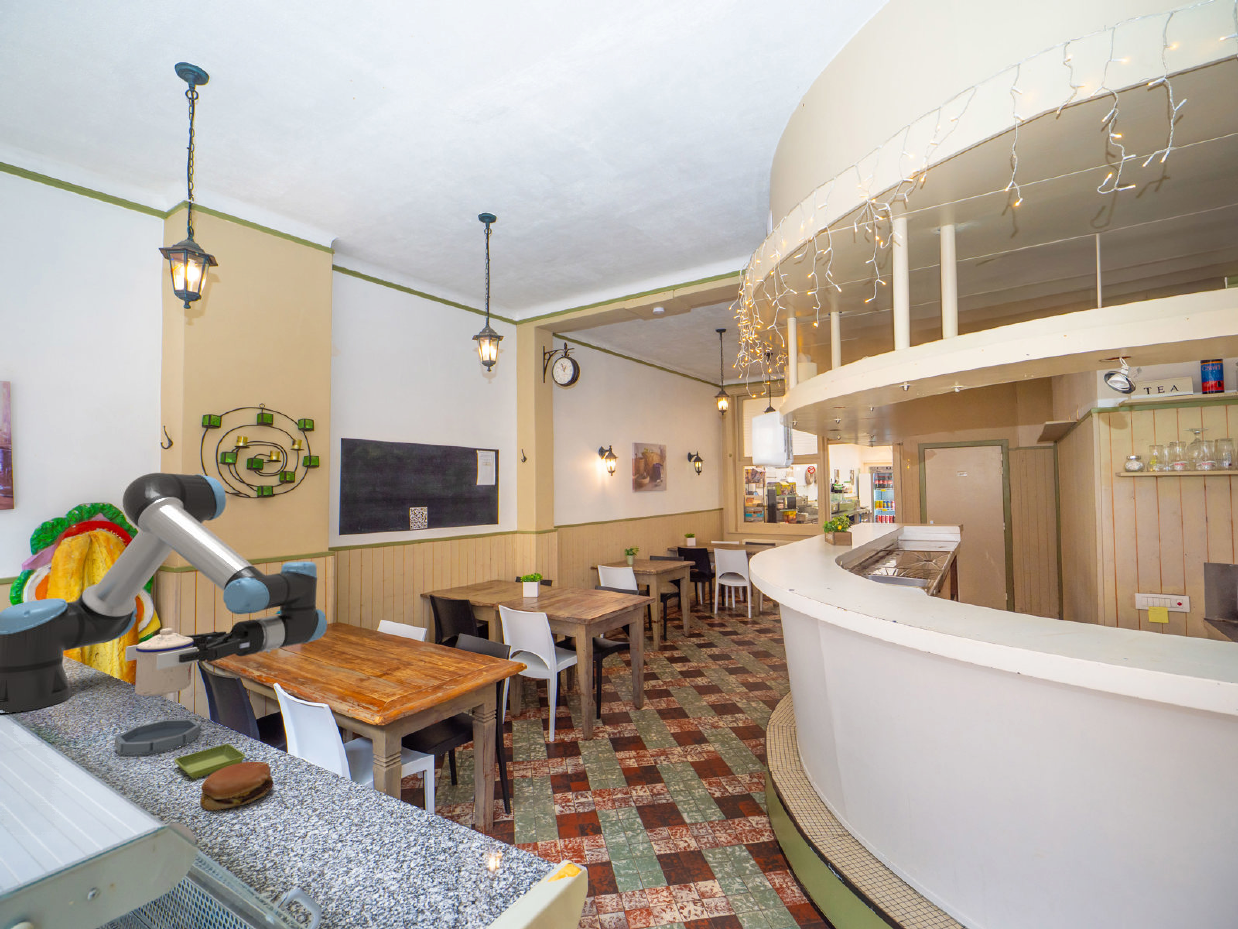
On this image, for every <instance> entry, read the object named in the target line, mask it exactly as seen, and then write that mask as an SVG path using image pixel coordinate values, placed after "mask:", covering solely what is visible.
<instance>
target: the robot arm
mask: <svg viewBox="0 0 1238 929" xmlns="http://www.w3.org/2000/svg"><path fill="white" fill-rule="evenodd" d="M226 505H227V498H226V491H225V488H224V487H223V485H222V484H221V482H220V481H219V480H217V479H216V478H215V477H212V476H209V475H202V474H199V473H197V474H181V473H180V474H179V473H165V472H152V473H148V474H147V473H146V474H144V475H142V476H139V477H137V478H135V479H133V481H132V482H131V483H129V485H128V486H127V487H126V488H125V490H124V492H123V496H122V508H123V511H124V513H125V515H126V516H127V517H128V519H129V521H131V522H132V523H133V524H134V525H135V526H136V527H137V528H138V529H139V530H138V532H137V533H136V535H135V536H134V538H132V540H131V541H130V542H129V543H128V545H127V547H126V548H125V549H124V550H123V551H122V553H121V554H120V555H119V557H118V558H117V559H116V560H115V561H114V563H113V564H112V565H111V567H110V568H109V570H107V572H106V574H104V575H103V578H101V580H100V581H99V583H97V584H92V585H90V586H88V587H86V588H85V589H84V590H83V592H82V593H81V595H80V596H79V597H78V598H77V599H76V600H74V601H69V602H67V601H66V599H64V598H56V597H55V598H44V599H39V600H32V601H26V602H21V603H18V604H14V605H11V606H9V607H8V606H7V608H4V609H3V610H1V611H0V710H3V711H5V712H9V713H8V714H13V713H12V712H16V713H22V712H21V711H23V712H27V711H34V710H39V709H42V708H46V707H51V706H54V705H57V704H60V703H63V702H65V701H66V700H68V699H70V697H71V692H72V691H71V688H72V687H71V684H70V682H69V679H68V676H67V674H66V671H65V669H64V666H63V665H64V664H63V661H64V660H63V658H64V652H65V651H69V650H75V649H79V648H83V647H84V648H85V647H90V646H94V645H98V644H104V643H105V644H106V643H109V642H111V641H115V640H117V639H120V638H122V637H123V636H125V635H127V634H128V633H129V631H130V630H131V629H132V628H133V627H134V624H136V619H137V617H136V615H138V611H137V610H138V609H137V602H136V597H137V596H138V595H139V593H140V592H141V591H142V590H143V588H144V587H145V586H146V585H147V583H148V582H149V581H150V579H152V576H154V574H156V572H157V571H158V569H159V568H160V567H161V565H162V564H163V563H164V562H165V561H166V559H167V558H168V557H169V556H170V554H171V553H172V551H173V552H175V553H177V554H178V555H179V556H180V557H182V558H183V559H184V560H185V561H186V562H187V563H189V565H191V566H192V567H193V568H195V569H196V570H197V571H198V572H200V573H201V574H202V575H203V576H205V578H207V579H208V580H209V581H211V582H212V583H213V584H214V585H216V587H218V588H219V589H220V590H221V591H222V592H223V593H222V594H223V597H222V598H223V603H225V608H226V610H228V611H229V612H231V613H232V614H236V615H245V614H253V613H258V612H261V611H265V610H269V609H273V608H278V607H279V608H280V609H279V611H280V614H279V615H271V616H266V617H258V618H255V619H249V620H242V621H237V622H236V623H234V624H233V626H232V627H231V630H229V632H227V631H224V630H223V631H212V632H205V633H197V634H187V635H183V636H184V637H190V638H192V639H193V641H194V644H193V646H192V648H189V649H184V650H178V651H173V652H168V653H163V654H157V667H156V669H158V670H159V669H164V668H169V667H174V666H179V665H183V664H188V663H192V664H193V663H197V662H205V661H206V662H209V663H211V662H215V661H217V660H221V659H223V658H224V659H225V658H227V657H230V656H232V655H236V656H237V657H245V656H251V655H255V654H257V653H264V652H266V654H270V653H271V652H272V650H277V649H281V648H282V649H283V648H285V647H292V646H296V645H303V644H307V643H310V642H314V641H317V640H319V639H321V638H322V637H324V635H325V633H326V631H327V629H328V620H327V619H326V613H325V612H324V611H323V610H321V609H317V606H316V605H317V585H318V576H317V565H316V564H317V563H315V562H312V561H292V562H291V561H290V562H286V563H283V564H282V566H281V570H280V572H279V573H278V572H277V573H272V574H264V573H263V572H262V571H260V570H259V569H258V568H256V567H255V566H254V565H253V564H251V563H250V562H249V561H248V560H247V559H245V558H244V557H243V556H241V554H239V553H238V552H237V551H236V550H235V549H234V548H232V547H231V546H229V545H228V544H227V543H226V542H224V541H223V540H222V539H221V538H220V537H218V536H217V535H216V534H215V533H214V532H213V531H211V530H210V529H208V528H207V527H206V526H205V525H204V524H203V523H204V522H205V521H212V520H215V519H217V518H220V516H221V515H222V514H223V513H224V511H225V509H226ZM137 646H138V644H134V645H131V646H130V645H129V646H126V647H125V655H124V656H125V657H124V658H125V659H124V660H125V662H130V661H135V660H136V661H137V651H136V648H137Z"/></svg>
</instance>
